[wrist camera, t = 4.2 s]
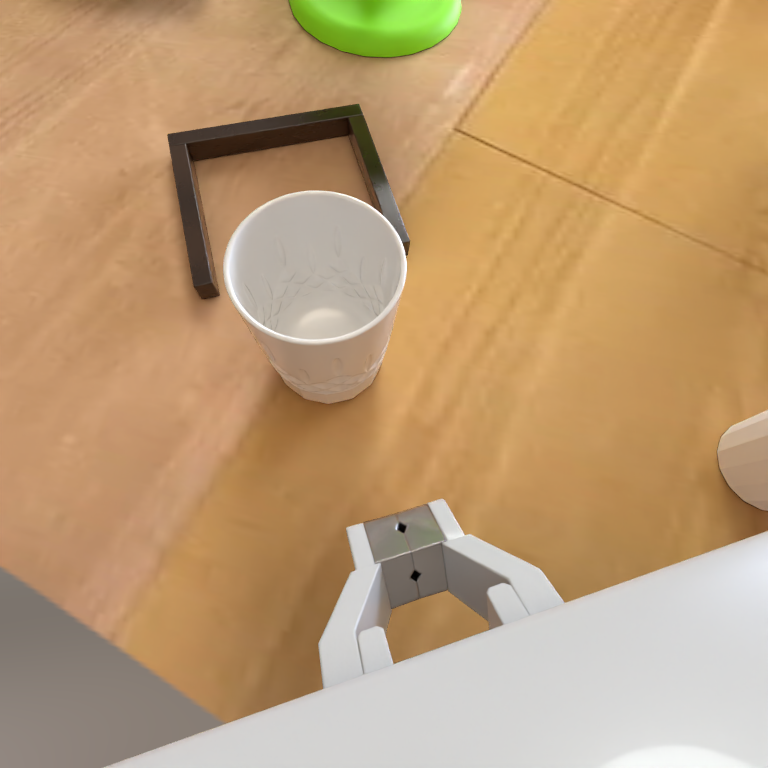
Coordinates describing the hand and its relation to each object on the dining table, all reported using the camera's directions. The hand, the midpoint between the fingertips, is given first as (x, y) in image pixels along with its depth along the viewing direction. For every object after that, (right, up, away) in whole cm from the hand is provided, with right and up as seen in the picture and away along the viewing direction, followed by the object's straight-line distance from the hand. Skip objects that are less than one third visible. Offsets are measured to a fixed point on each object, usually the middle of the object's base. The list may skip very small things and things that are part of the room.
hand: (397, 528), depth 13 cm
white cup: (-4, +6, +16) cm, 17 cm away
